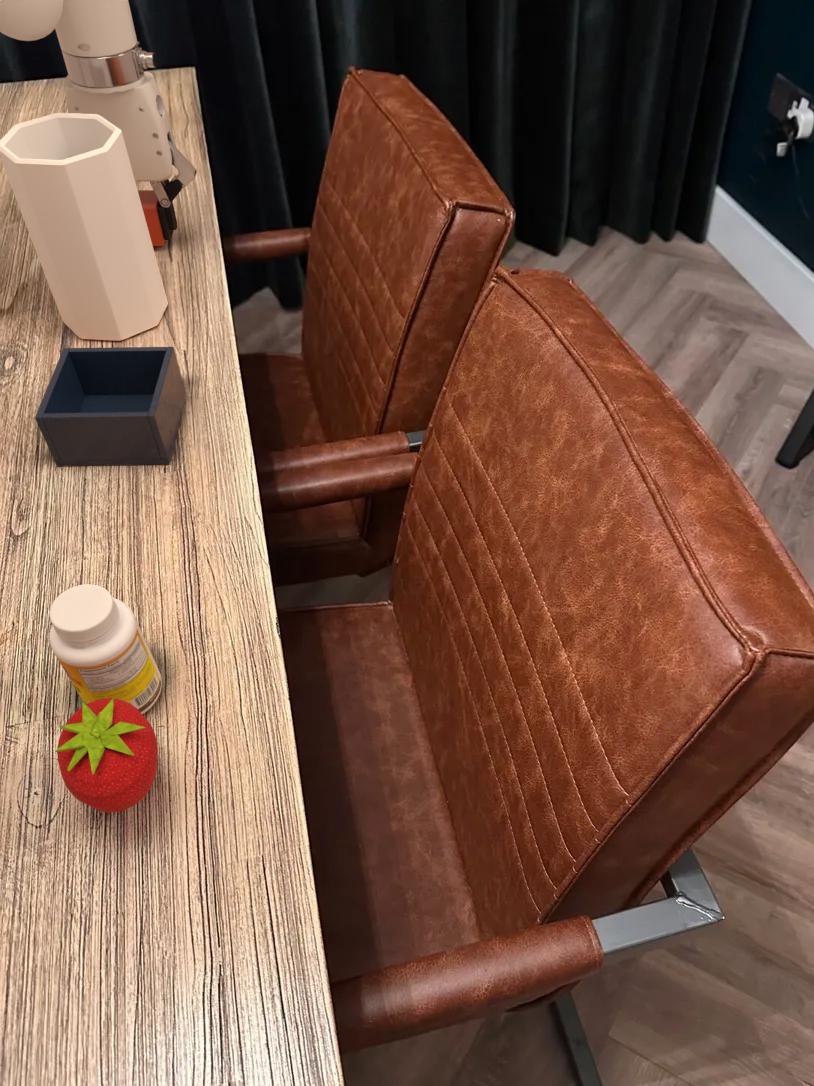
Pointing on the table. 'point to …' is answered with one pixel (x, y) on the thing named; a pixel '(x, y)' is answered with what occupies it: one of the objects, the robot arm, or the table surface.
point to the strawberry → (108, 755)
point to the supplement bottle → (103, 648)
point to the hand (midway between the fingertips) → (147, 233)
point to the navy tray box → (113, 406)
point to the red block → (152, 216)
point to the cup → (86, 223)
